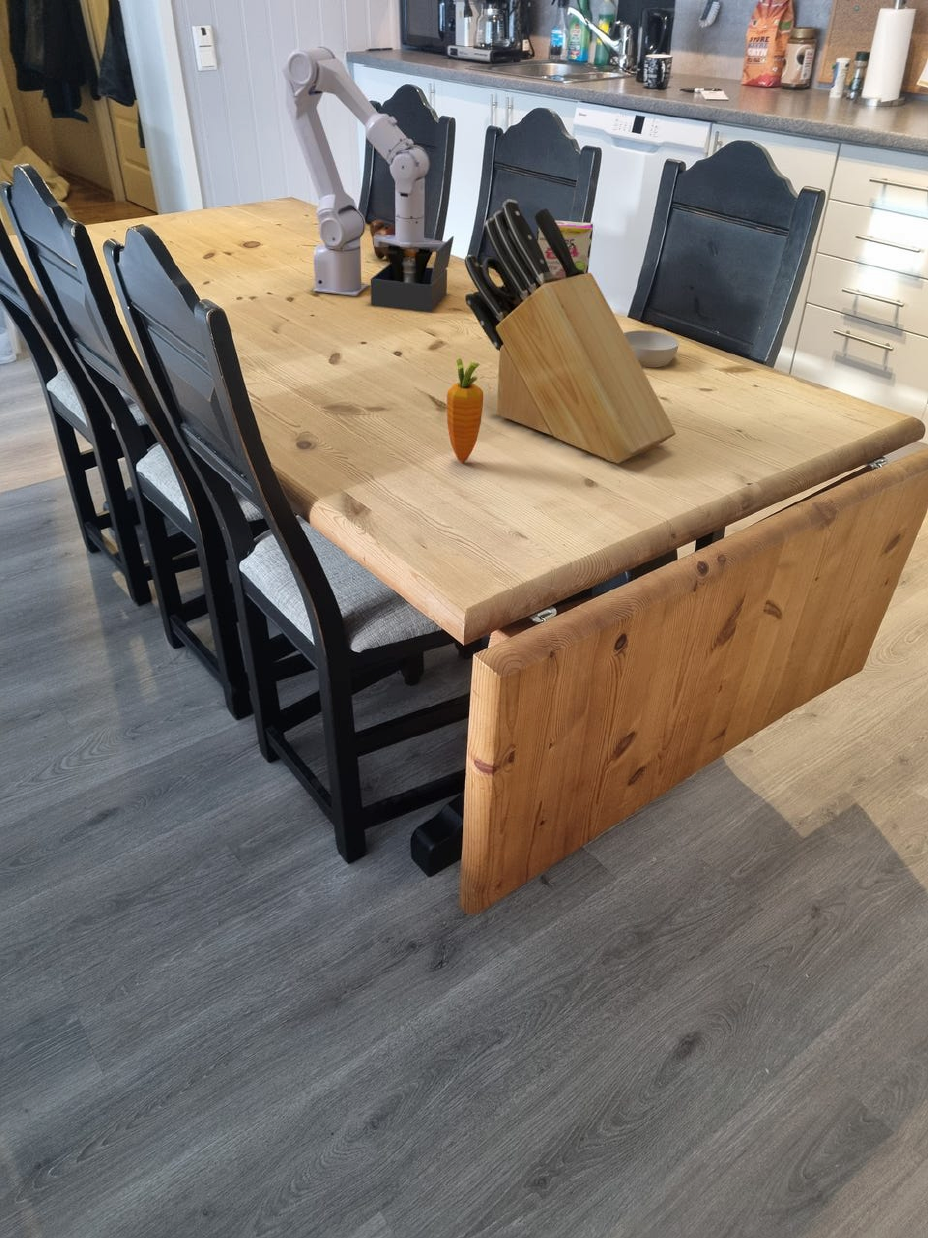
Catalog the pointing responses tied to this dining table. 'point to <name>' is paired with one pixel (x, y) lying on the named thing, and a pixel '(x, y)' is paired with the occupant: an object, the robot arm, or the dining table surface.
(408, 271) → the rook chess piece
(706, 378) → the dining table surface
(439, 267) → the flap
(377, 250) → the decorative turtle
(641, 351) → the grey bowl
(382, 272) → the carton
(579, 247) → the candy bar box
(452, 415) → the carrot
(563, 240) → the knife block
